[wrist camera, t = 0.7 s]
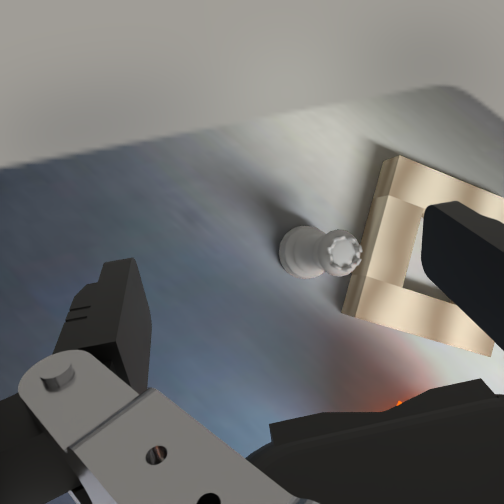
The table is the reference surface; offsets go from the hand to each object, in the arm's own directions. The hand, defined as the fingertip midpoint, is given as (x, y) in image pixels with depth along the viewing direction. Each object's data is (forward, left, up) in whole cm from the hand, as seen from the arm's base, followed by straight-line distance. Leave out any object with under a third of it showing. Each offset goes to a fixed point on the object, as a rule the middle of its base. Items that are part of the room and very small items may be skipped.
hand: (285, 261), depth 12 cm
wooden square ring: (+21, +6, -23) cm, 32 cm away
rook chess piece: (+9, +3, -23) cm, 26 cm away
